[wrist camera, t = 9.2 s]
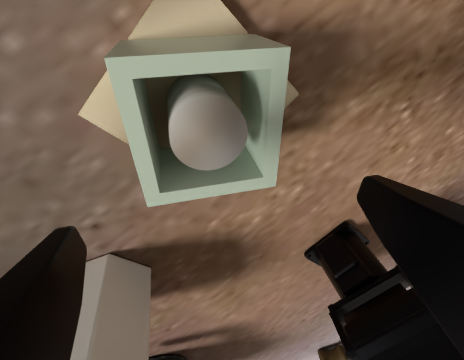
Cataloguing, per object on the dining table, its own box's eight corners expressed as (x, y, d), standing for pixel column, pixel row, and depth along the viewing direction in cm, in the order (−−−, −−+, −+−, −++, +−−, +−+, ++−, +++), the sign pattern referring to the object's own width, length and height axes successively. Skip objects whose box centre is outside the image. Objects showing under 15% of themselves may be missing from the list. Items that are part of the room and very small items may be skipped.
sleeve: (251, 147, 19) (275, 186, 15) (150, 160, 17) (147, 207, 14) (254, 34, 14) (290, 47, 10) (120, 40, 13) (103, 57, 9)
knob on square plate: (293, 89, 18) (341, 121, 13) (204, 182, 21) (217, 236, 16) (181, -42, 13) (194, -67, 8) (82, 108, 15) (48, 156, 11)
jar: (57, 252, 22) (-23, 449, 12) (155, 252, 24) (152, 412, 15) (64, 309, 26) (11, 484, 17) (146, 303, 29) (140, 450, 20)
